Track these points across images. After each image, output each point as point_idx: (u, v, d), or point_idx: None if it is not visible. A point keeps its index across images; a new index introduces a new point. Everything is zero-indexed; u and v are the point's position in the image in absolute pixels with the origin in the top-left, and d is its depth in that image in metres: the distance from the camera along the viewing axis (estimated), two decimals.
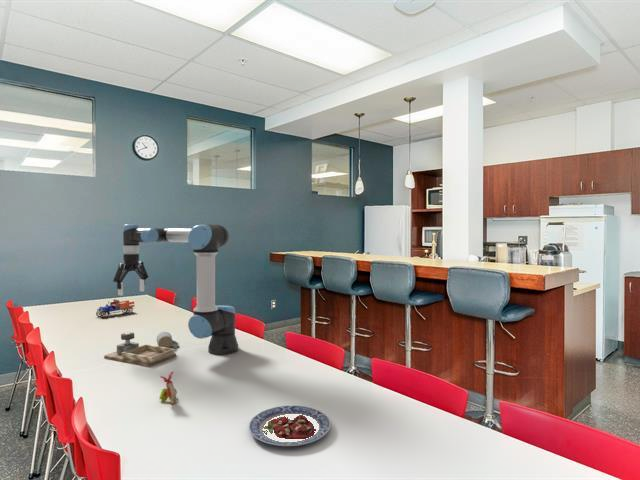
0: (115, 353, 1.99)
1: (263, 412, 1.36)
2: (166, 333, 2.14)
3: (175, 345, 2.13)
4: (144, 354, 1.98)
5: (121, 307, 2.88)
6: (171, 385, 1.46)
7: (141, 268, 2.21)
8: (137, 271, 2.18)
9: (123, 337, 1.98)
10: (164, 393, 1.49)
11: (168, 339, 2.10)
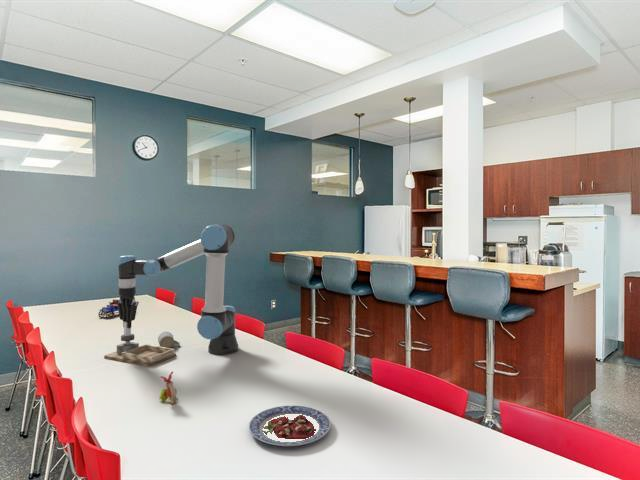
0: (115, 353, 1.99)
1: (263, 412, 1.36)
2: (167, 333, 2.15)
3: (176, 345, 2.14)
4: (144, 354, 1.98)
5: None
6: (171, 385, 1.46)
7: None
8: None
9: (123, 338, 1.98)
10: (164, 393, 1.49)
11: (169, 339, 2.11)
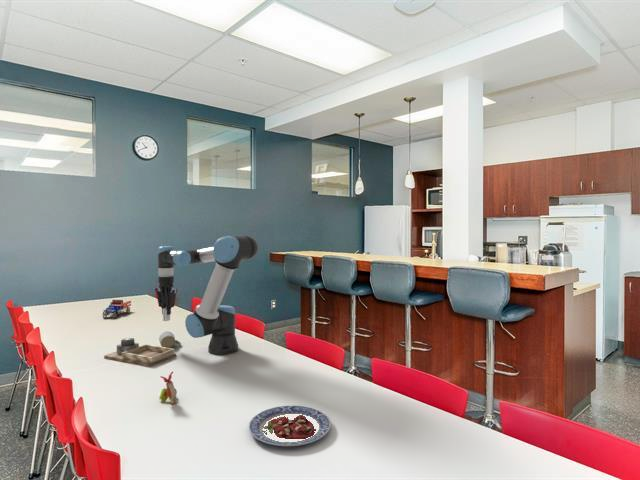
0: (115, 353, 1.99)
1: (263, 412, 1.36)
2: (169, 333, 2.15)
3: (178, 345, 2.14)
4: (144, 354, 1.98)
5: (124, 306, 2.91)
6: (171, 385, 1.46)
7: None
8: None
9: (123, 343, 1.99)
10: (164, 393, 1.49)
11: (171, 339, 2.11)
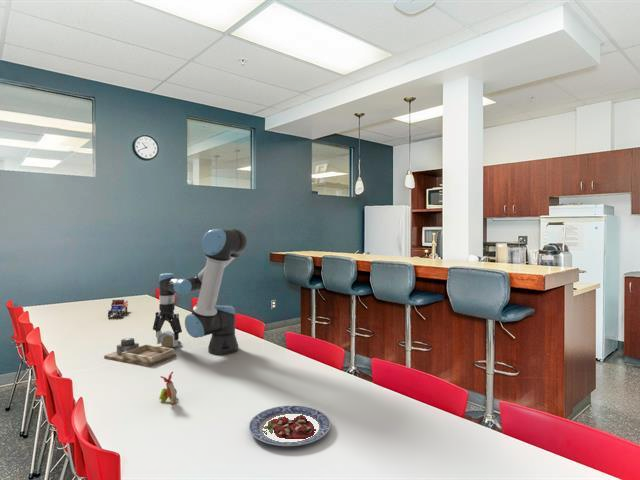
0: (115, 353, 1.99)
1: (263, 412, 1.36)
2: (169, 332, 2.15)
3: (178, 344, 2.14)
4: (144, 354, 1.98)
5: (124, 306, 2.92)
6: (171, 385, 1.46)
7: None
8: None
9: (123, 343, 1.99)
10: (164, 393, 1.49)
11: (171, 338, 2.11)
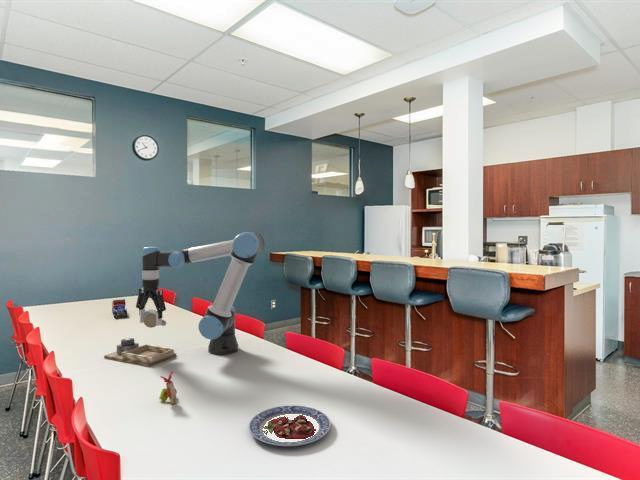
0: (115, 353, 1.99)
1: (263, 412, 1.36)
2: (153, 311, 2.00)
3: (162, 324, 1.99)
4: (144, 354, 1.98)
5: None
6: (171, 385, 1.46)
7: None
8: None
9: (123, 343, 1.99)
10: (164, 393, 1.49)
11: (154, 317, 1.96)
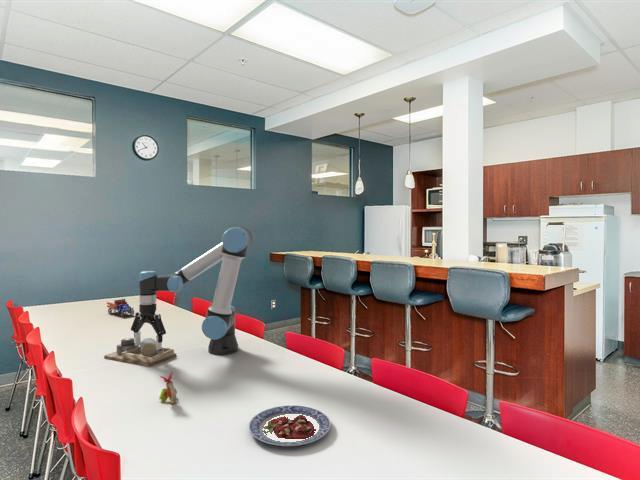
0: (115, 353, 1.99)
1: (263, 412, 1.37)
2: (150, 339, 1.97)
3: (160, 352, 1.97)
4: None
5: None
6: (171, 385, 1.46)
7: None
8: None
9: (123, 343, 1.99)
10: (164, 393, 1.49)
11: (152, 346, 1.94)
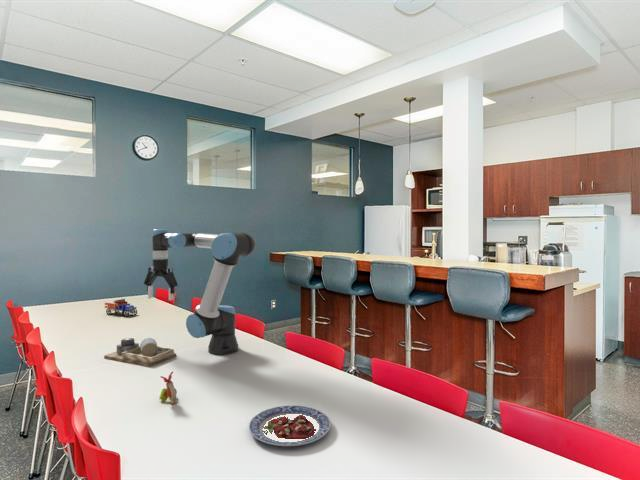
0: (115, 353, 1.99)
1: (263, 412, 1.37)
2: (150, 339, 1.97)
3: (160, 352, 1.97)
4: None
5: None
6: (171, 385, 1.46)
7: None
8: None
9: (123, 343, 1.99)
10: (164, 393, 1.49)
11: (152, 346, 1.94)
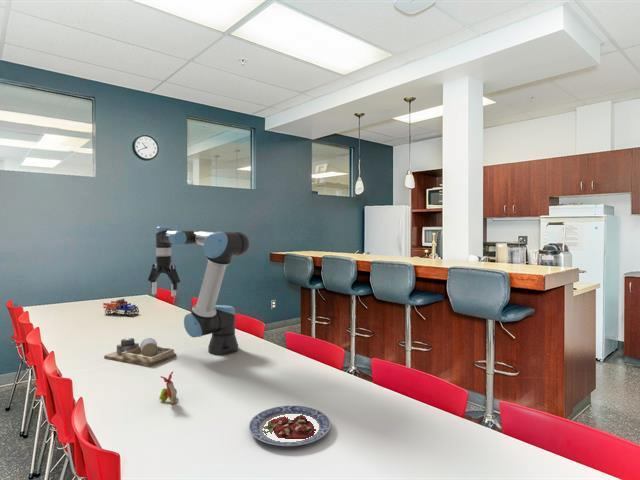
0: (115, 353, 1.99)
1: (263, 412, 1.37)
2: (151, 340, 1.97)
3: (160, 353, 1.97)
4: None
5: None
6: (171, 385, 1.46)
7: None
8: None
9: (123, 343, 1.99)
10: (164, 393, 1.49)
11: (153, 346, 1.94)
